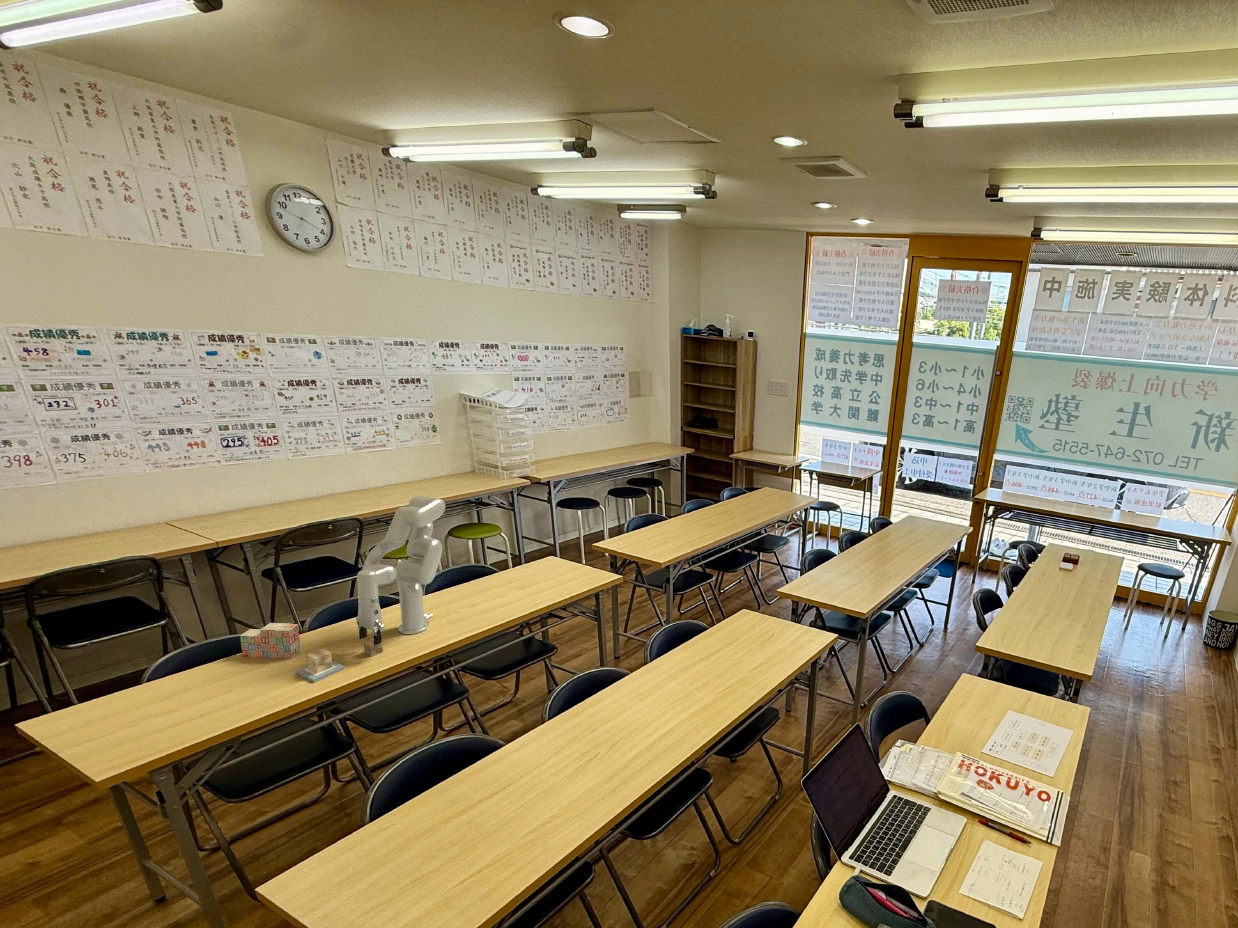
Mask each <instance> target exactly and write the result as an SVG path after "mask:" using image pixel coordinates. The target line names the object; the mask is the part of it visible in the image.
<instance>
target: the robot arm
mask: <svg viewBox="0 0 1238 928" xmlns="http://www.w3.org/2000/svg"><path fill="white" fill-rule="evenodd" d="M445 511H446V503H445V501H444V500H443V499H442V498H437V497H429V496H419V495H418V496H414V497H412V498H411V499H410V500H409V503H408V506H400V507H398V509H396V511H395V514H394V515H393V518H392V521H391V523H390V525H389V527H388V530H387V532H386V535H385V537H384V538H383V539H382V540H381V541H380V542H379V543H377V544H376V545H375V546H374V547H373V548H372V549H371V550H370V551H369V553H368V554H367V556H366V559H365V560H364V562H363V565H362V569H361V570H360V571H358V573H357V574H356V579H357V581H356V582H357V583H356V584H357V598H358V599H357V600H358V601H357V602H358V606H357V607H358V608H357V609H358V611H357V616H356V617H355V620H356V625H357V628H358V633H359V634H358V636H359V640H363V639H365V638H367V637H368V630H371V631H372V633H373V637H372V639H373V638H374V645H377V644H379V643H381V642H382V643H383V640H382V639H383V638H382V634H383V632H384V627H385V626H384V624H383V615H382V609H381V606H380V600H379V597H380V596H379V586H383V585H389V584H391V583H392V582H394V580H396V581H397V585H398V593H399V603H400V604H399V607H400V608H399V609H400V621H401V624H400V625H399V626H398V628H397V629H398V632H399V633H400V634H403V635H414V634H415V635H416V634H419V633H422V632H424V631H426V630H427V629H428V627H429V622H427V621H428V620H430V619H432V618H433V617H434V615H433V613H429V614H427V613H425V612H424V599H423V587H422V585H424V586H425V585H430V583H432V582H433V580H434V579H435V576H436V574H437V571H438V567H439V564H440V560H441V558H442V553H443V545H442V542H441V540H439V539H437V538H433V537H432V535H433V531H434V523H433V522H434V521H436V520H437V519H439V518H441V517H442V516H443V515H444V513H445ZM411 530H412V531H411ZM410 533H411V534H410ZM409 535H410V537H409ZM408 538H409V540H408ZM407 541H408V543H407ZM406 543H407V547H406V554H407V555H408V556H409V557H411V558H414V559H421V560H422V561H420V560H414V559H403V560H401V561H399V562H398V563H397V564H396V567H394V566H392V565H387V564H383V563H380V562H381V560H382V559H383V557H384V556H385V555H387V554H389V553H390V552H392V551H394V550H397V549H399V548H402V547H404V546H405V545H406Z"/></svg>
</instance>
